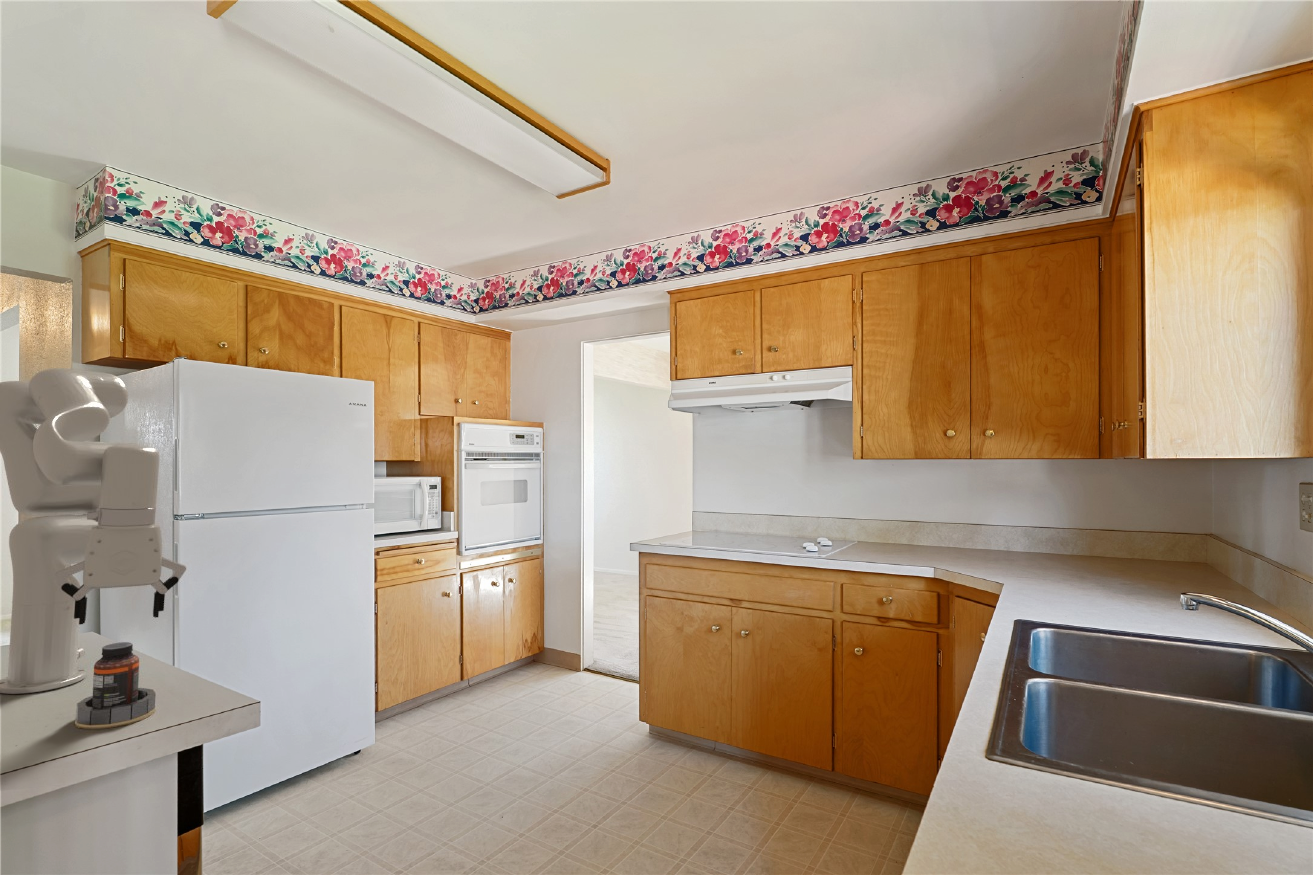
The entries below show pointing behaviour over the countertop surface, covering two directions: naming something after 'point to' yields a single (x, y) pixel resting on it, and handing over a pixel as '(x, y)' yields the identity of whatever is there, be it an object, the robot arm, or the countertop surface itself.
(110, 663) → the supplement bottle
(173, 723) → the countertop surface
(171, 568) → the robot arm
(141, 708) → the mount collar
